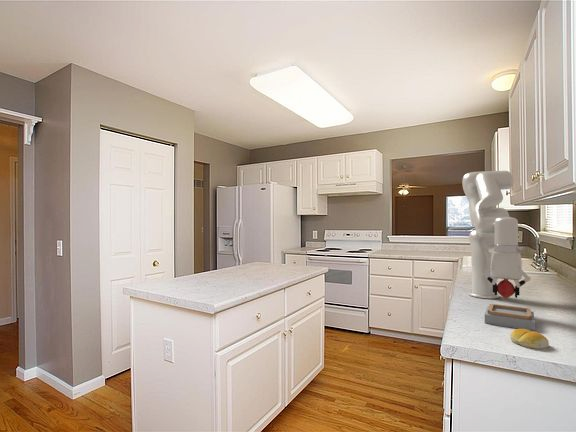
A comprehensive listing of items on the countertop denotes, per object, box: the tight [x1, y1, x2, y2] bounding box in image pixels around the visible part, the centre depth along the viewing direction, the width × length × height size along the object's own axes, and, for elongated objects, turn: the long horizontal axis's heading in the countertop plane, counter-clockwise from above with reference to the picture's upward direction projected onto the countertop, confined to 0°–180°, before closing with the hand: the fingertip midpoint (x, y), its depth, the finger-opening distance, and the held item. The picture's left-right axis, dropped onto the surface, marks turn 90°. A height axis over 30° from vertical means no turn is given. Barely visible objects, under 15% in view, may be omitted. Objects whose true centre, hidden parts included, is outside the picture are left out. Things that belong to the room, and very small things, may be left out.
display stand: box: [484, 303, 536, 332], centre depth 115 cm, size 14×14×4 cm
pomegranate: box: [497, 279, 515, 299], centre depth 126 cm, size 6×6×8 cm
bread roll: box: [509, 328, 550, 350], centre depth 95 cm, size 8×9×4 cm
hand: (505, 295), depth 126 cm, fingers closed on pomegranate, 5 cm apart
